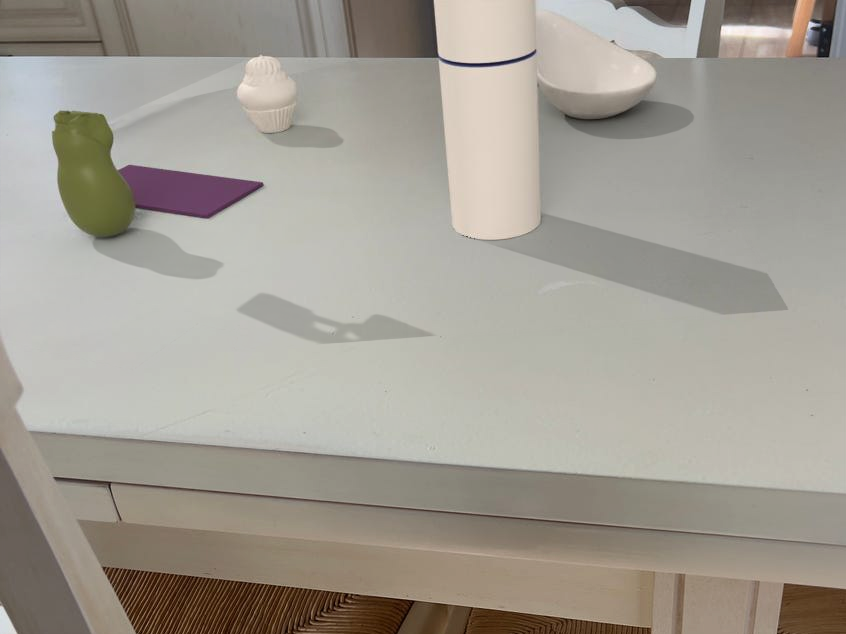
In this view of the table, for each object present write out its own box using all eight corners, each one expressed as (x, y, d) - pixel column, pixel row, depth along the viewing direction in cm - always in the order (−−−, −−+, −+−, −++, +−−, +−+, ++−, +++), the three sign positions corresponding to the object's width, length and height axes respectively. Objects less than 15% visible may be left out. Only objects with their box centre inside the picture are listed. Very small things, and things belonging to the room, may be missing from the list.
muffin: (289, 115, 108) (277, 43, 103) (314, 128, 103) (302, 54, 99) (235, 128, 105) (219, 55, 101) (257, 142, 101) (243, 67, 97)
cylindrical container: (452, 242, 79) (420, -146, 63) (451, 208, 84) (421, -157, 68) (544, 236, 79) (535, -155, 63) (537, 201, 84) (527, -166, 68)
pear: (62, 242, 84) (19, 116, 78) (106, 218, 88) (69, 96, 81) (113, 250, 82) (74, 122, 76) (156, 225, 86) (122, 101, 79)
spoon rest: (678, 113, 100) (683, 33, 95) (577, 138, 96) (577, 56, 91) (552, 64, 116) (551, -6, 112) (461, 84, 112) (456, 12, 108)
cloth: (69, 197, 92) (68, 194, 92) (129, 167, 98) (129, 164, 98) (207, 218, 86) (206, 215, 86) (263, 185, 92) (263, 182, 91)
